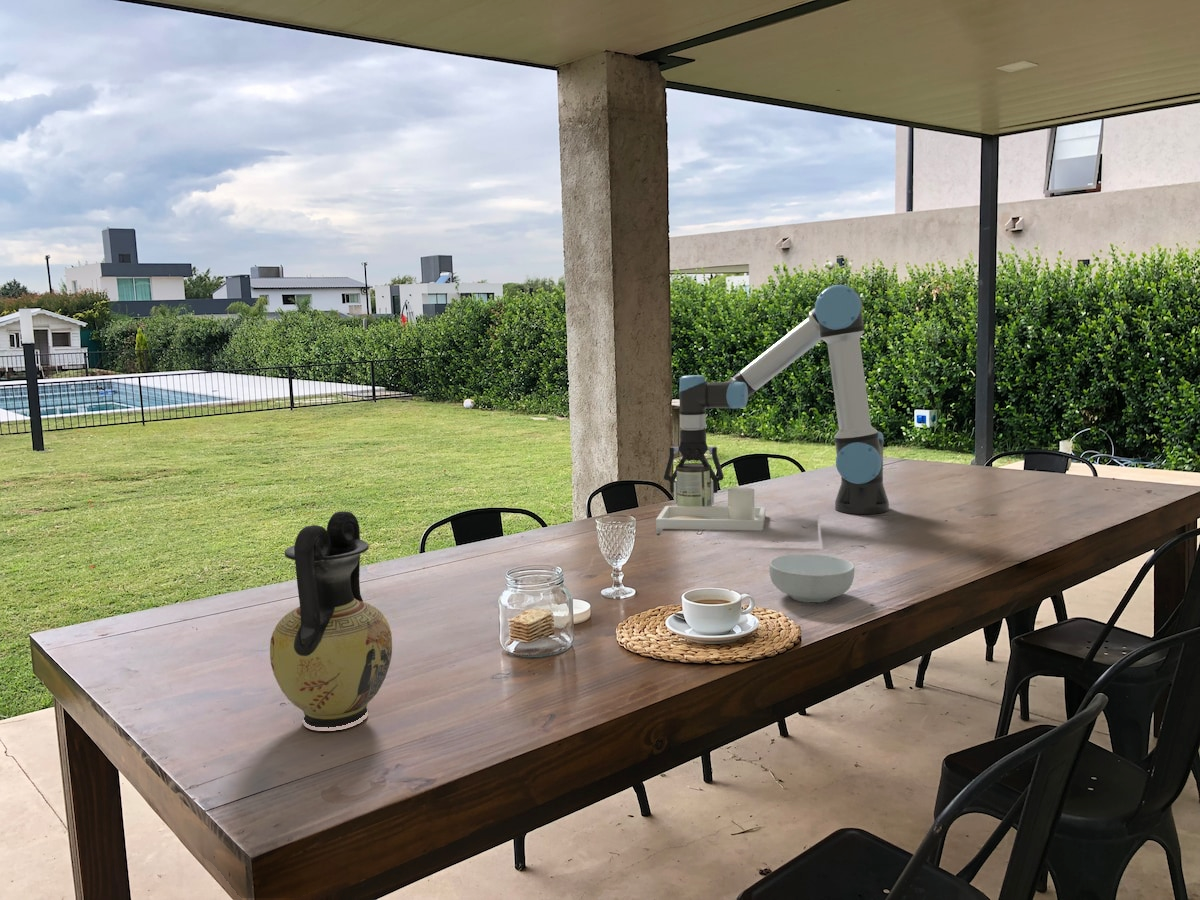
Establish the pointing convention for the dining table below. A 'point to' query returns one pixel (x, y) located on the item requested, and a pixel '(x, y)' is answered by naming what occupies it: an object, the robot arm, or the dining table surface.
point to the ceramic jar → (741, 503)
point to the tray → (705, 519)
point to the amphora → (330, 629)
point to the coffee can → (693, 485)
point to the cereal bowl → (811, 576)
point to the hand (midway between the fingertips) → (694, 503)
